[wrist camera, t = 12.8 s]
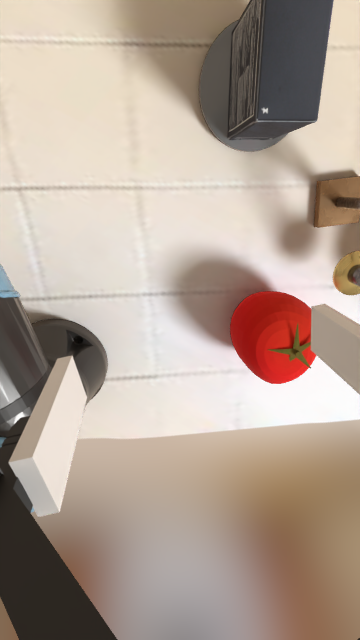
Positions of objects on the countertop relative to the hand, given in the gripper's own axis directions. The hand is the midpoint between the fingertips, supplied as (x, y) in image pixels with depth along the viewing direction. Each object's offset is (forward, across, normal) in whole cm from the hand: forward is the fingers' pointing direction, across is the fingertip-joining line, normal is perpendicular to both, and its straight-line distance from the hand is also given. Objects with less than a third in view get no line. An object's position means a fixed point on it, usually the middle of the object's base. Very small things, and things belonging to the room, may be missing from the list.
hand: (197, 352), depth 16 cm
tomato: (+29, +14, -14) cm, 35 cm away
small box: (+28, +14, +17) cm, 36 cm away
